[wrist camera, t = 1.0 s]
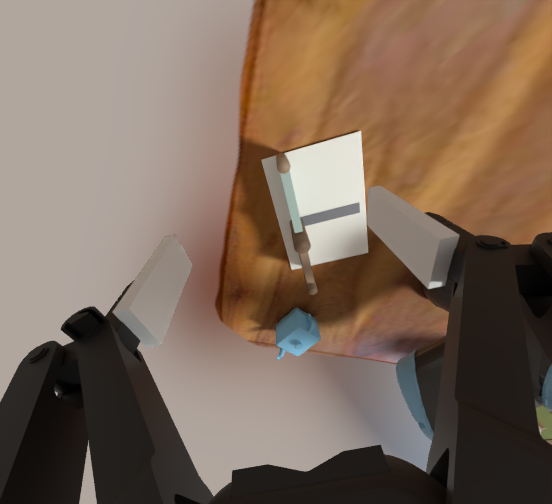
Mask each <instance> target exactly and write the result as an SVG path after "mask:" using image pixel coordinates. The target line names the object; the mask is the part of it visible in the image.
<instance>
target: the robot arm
mask: <svg viewBox="0 0 552 504" xmlns="http://www.w3.org/2000/svg"><path fill="white" fill-rule="evenodd" d="M367 226H368V227H369V228H370V229H371V230H372V231H373V232H374V233H375V234H376V235H377V236H378V237H379V238H380V239H381V240H382V241H383V242H384V243H385V244H386V246H387V247H388V248H389V249H390V250H391V251H392V252H393V253H394V254H395V255H396V256H397V257H398V258H399V259H400V260H401V261H402V262H403V263H404V264H405V265H406V266H407V268H408V269H409V270H410V271H411V272H412V273H413V274H414V275H415V276H416V277H417V278H418V279H419V280H420V281H421V287H422V291H423V293H424V294H425V296H426V297H427V298H428V299H429V300H430V301H431V302H432V303H433V304H435V305H436V306H438V307H440V308H442V309H444V310H446V311H448V312H449V319H448V327H447V334H446V336H444V337H442V338H440V339H438V340H436V341H434V342H432V343H430V344H428V345H426V346H424V347H421V348H419V349H414V350H413V352H412V353H410V354H408V355H406V356H405V357H403V358H401V359H400V360H399V361H398V363H397V365H396V374H397V379H398V383H399V386H400V389H401V392H402V394H403V397H404V399H405V401H406V404H407V406H408V408H409V410H410V412H411V414H412V416H413V417H414V419H415V420H416V421H417V422H418V424H419V427H420V429H421V430H422V432H423V433H424V434H425V435H426V436H427V437H428V438H429V439H430V440H432V444H431V448H430V452H429V457H428V463H427V469H426V472H424V471H423V470H421V469H419V468H418V467H416V466H415V465H413V464H411V463H409V462H407V461H404V460H402V459H400V458H397V457H394V456H390V455H385V454H384V453H383V450H382V448H381V445H377V446H371V447H365V448H359V449H354V450H348V451H343V452H341V453H339V454H338V455H336V456H334V457H332V458H331V459H329V460H327V461H326V462H324V463H322V464H320V465H319V466H317V467H315V468H313V469H312V470H310V471H307V472H304V471H298V470H293V469H288V468H283V467H278V466H273V465H261V466H256V467H250V468H244V469H238V470H233V471H232V482H231V483H229V484H228V485H226V486H225V487H224V488H222V489H221V490H220V491H219V492H218V493H217V494H216V495H215V496H214V497H213V495H212V493H211V492H210V490H209V489H208V487H207V486H206V485H205V484H204V483H203V481H202V480H201V478H200V477H199V475H198V473H197V471H196V469H195V467H194V465H193V462H192V460H191V458H190V456H189V454H188V452H187V450H186V447H185V446H184V443H183V441H182V439H181V437H180V435H179V433H178V431H177V428H176V426H175V424H174V422H173V420H172V418H171V416H170V413H169V411H168V409H167V407H166V405H165V403H164V401H163V399H162V397H161V395H160V392H159V390H158V388H157V386H156V384H155V382H154V379H153V378H152V375H151V373H150V371H149V369H148V367H147V365H146V362H145V360H144V358H143V356H142V354H141V352H140V351H138V349H137V347H138V345H139V343H140V342H141V343H142V344H143V345H144V346H145V347H146V348H150V347H155V346H160V345H162V342H163V340H164V337H165V335H166V332H167V330H168V327H169V324H170V322H171V320H172V317H173V315H174V312H175V310H176V307H177V305H178V302H179V299H180V297H181V294H182V292H183V289H184V287H185V284H186V282H187V279H188V277H189V274H190V272H191V269H192V266H193V264H192V262H191V261H190V259H189V257H188V255H187V254H186V252H185V250H184V248H183V246H182V244H181V243H180V241H179V239H178V237H177V235H176V234H174V235H170V236H166V237H165V238H164V239H163V241H162V242H161V243H160V245H159V246H158V248H157V249H156V251H155V252H154V253H153V255H152V256H151V258H150V259H149V260H148V262H147V263H146V265H145V266H144V268H143V269H142V270H141V272H140V273H139V275H138V276H137V278H136V279H135V280H134V281H133V282H132V283H130V284H129V285H128V286H127V287H126V289H125V290H124V291H123V293H122V295H120V297H119V298H118V301H116V302H115V304H114V305H113V306H112V308H111V309H110V311H109V312H108V313H107V315H106V316H104V315H103V314H102V313H101V312H100V311H99V310H98V309H96V308H95V307H87V308H84V309H82V310H80V311H78V312H77V313H75V314H73V315H72V316H71V317H70V318H68V319H67V320H66V321H65V323H64V324H63V325H62V327H61V330H62V331H63V332H64V333H65V334H67V335H68V336H69V337H70V338H72V339H73V340H74V342H71V343H69V344H67V345H64V346H61V345H60V344H59V343H57V342H56V341H49V342H46V343H44V344H42V345H40V346H38V347H36V348H35V349H33V350H32V351H31V352H29V354H28V355H27V356H26V357H25V358H24V359H23V360H22V362H21V363H20V365H19V366H18V368H17V370H16V373H15V374H14V377H13V378H12V380H11V382H10V384H9V386H8V388H7V390H6V392H5V394H4V396H3V398H2V400H1V402H0V504H79V500H80V493H81V487H82V479H83V473H84V465H85V459H86V452H87V446H88V440H89V447H90V455H91V462H92V469H93V476H94V483H95V491H96V499H97V504H552V445H551V444H550V443H548V442H547V441H545V440H544V439H543V438H542V436H541V428H540V427H539V426H538V420H537V413H536V408H537V407H540V406H545V407H546V408H547V409H548V410H549V411H551V412H552V232H550V233H542V234H539V235H537V236H536V237H535V239H534V241H533V242H532V244H526V245H511V244H510V243H509V242H507V241H506V240H504V239H501V238H498V237H494V236H488V235H479V236H474V235H472V234H471V233H469V232H467V231H466V230H464V229H462V228H460V227H459V226H457V225H455V224H453V223H452V222H450V221H447V219H445V218H443V217H442V216H440V215H437V214H434V213H430V212H426V213H423V212H422V211H420V210H419V209H417V208H415V207H414V206H412V205H410V204H409V203H407V202H406V201H404V200H402V199H401V198H399V197H398V196H396V195H394V194H393V193H391V192H390V191H388V190H386V189H385V188H383V187H382V186H380V185H379V186H375V187H371V188H368V213H367ZM55 391H56V392H57V393H58V395H57V396H56V394H55Z"/></svg>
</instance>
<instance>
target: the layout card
mask: <svg viewBox="0 0 552 504" xmlns="http://www.w3.org/2000/svg"><path fill="white" fill-rule="evenodd" d="M284 154H285V155H286V157H287V159H288V161H289V163H290V175H291V179H292V184H293V188H294V193H295V197H296V202H297V206H298V211H299V215H300V218H301V219H302V220H303V223H304V226H305V229H306V232H307V235H308V238H309V241H310V244H311V248H310V250H309V251H308V256H309V260H310V265H311V266H312V265H316V264H321V263H325V262H329V261H334V260H338V259H343V258H347V257H352V256H356V255H360V254H365V253H368V238H367V222H366V206H365V190H364V174H363V158H362V142H361V131H358V132H355V133H351V134H348V135H344V136H341V137H338V138H334V139H331V140H327V141H324V142H320V143H317V144H313V145H310V146H307V147H303V148H300V149H296V150H293V151H289V152H286V153H284ZM276 156H277V155H276ZM276 156H272V157H269V158H265V159H262V160H261V161H262V165H263V168H264V172H265V176H266V179H267V183H268V186H269V190H270V194H271V197H272V201H273V204H274V208H275V212H276V215H277V219H278V222H279V226H280V230H281V233H282V237H283V240H284V244H285V248H286V251H287V255H288V258H289V262H290V266H291V269H292V270H294V269H299V268H302V261H301V256H300V253H297V252H296V251H295V250H294V245H293V240H292V234H291V229H290V220H291V216H290V211H289V207H288V203H287V199H286V195H285V191H284V187H283V183H282V179H281V175H280V172H279V171H278V169H277V164H276Z"/></svg>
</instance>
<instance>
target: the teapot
mask: <svg viewBox="0 0 552 504" xmlns="http://www.w3.org/2000/svg"><path fill="white" fill-rule="evenodd" d="M320 339H321V338H320V333H319V329H318V325H317V320H316V319H315V318H314V317H312V316H311V315H310V314H309V313H308V314H307V313H306V312H304V311H302V310H301V309H299V308H297V307H295V308H294V309H292V311H291V312H290V313H289V314H287V315H286V316H285V317H284V318H282V319H281V321H279V322H278V323H277V324H276V345H277V346H279V347H280V354H279V356H278V357H277V360H279V359H281V358H282V357H283V355H284V353H285V350H286V351H288V352H290V353H292V354H294V355H296V356H299V355H301V354H302V353H303V352H305V351H306V350H307V349H309V348H310V347H311V346H313V345H314V344H315V343H317V342H318V341H319V340H320Z"/></svg>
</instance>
